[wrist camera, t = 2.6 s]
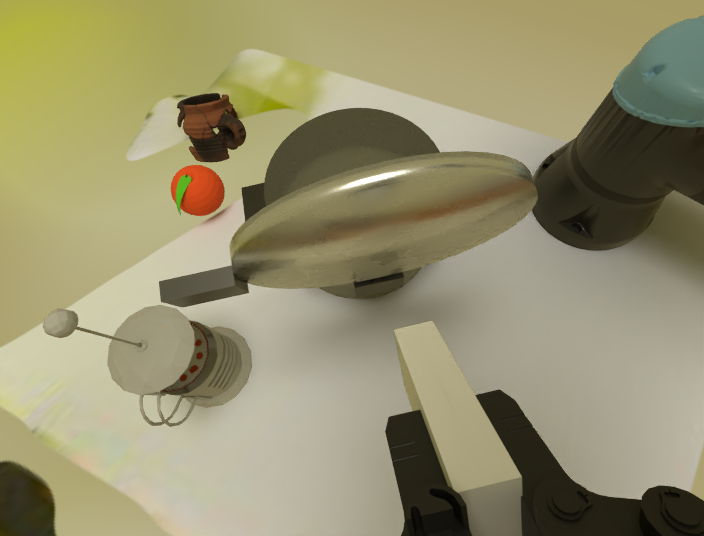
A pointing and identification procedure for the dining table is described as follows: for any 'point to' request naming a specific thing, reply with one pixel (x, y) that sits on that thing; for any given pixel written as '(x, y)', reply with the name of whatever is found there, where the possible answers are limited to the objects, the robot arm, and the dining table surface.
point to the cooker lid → (368, 225)
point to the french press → (169, 357)
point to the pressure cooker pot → (340, 168)
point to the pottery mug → (211, 126)
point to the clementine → (197, 190)
